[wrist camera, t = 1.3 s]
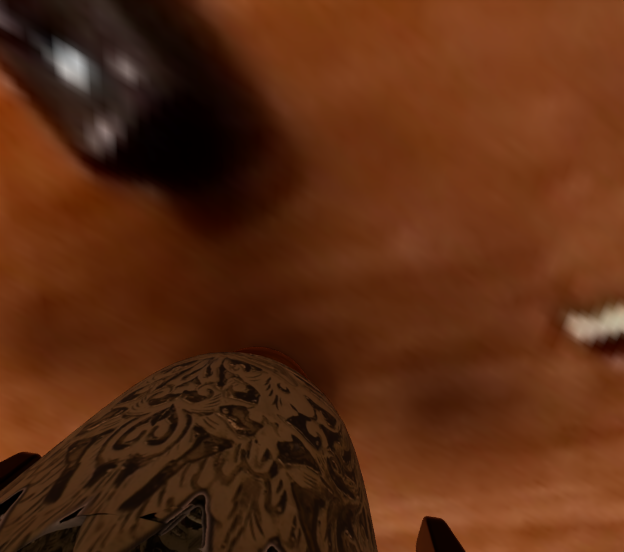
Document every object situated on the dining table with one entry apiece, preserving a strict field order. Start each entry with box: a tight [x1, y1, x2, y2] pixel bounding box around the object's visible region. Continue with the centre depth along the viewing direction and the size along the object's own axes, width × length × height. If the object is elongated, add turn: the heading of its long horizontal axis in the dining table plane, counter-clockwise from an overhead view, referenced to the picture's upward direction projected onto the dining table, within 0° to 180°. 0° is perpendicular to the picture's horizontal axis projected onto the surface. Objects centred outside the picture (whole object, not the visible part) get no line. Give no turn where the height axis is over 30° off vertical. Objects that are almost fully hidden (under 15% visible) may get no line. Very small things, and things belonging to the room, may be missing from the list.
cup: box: [0, 347, 378, 552], centre depth 8 cm, size 8×7×8 cm
